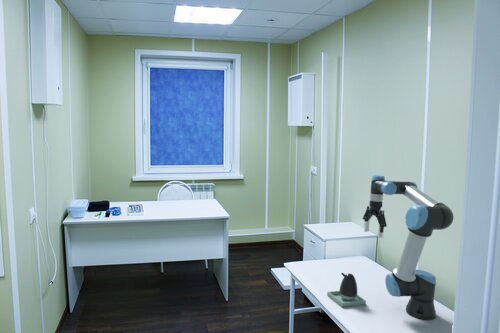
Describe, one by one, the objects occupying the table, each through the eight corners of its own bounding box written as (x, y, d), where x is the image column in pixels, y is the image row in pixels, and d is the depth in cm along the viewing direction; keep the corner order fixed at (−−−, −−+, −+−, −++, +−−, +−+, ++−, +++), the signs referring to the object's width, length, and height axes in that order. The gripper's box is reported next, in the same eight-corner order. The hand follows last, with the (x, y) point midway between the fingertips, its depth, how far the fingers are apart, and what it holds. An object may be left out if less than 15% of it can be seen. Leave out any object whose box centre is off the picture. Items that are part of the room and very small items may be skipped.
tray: (365, 304, 228) (365, 300, 228) (341, 307, 222) (342, 303, 222) (349, 293, 242) (350, 289, 242) (327, 295, 237) (327, 291, 237)
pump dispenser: (343, 293, 240) (345, 269, 238) (359, 299, 233) (362, 274, 232) (335, 298, 232) (337, 273, 231) (351, 304, 225) (354, 278, 224)
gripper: (394, 204, 236) (391, 239, 238) (368, 196, 259) (366, 229, 261) (384, 204, 233) (381, 240, 235) (359, 196, 257) (356, 229, 259)
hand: (373, 234), depth 248 cm, fingers open, 13 cm apart
